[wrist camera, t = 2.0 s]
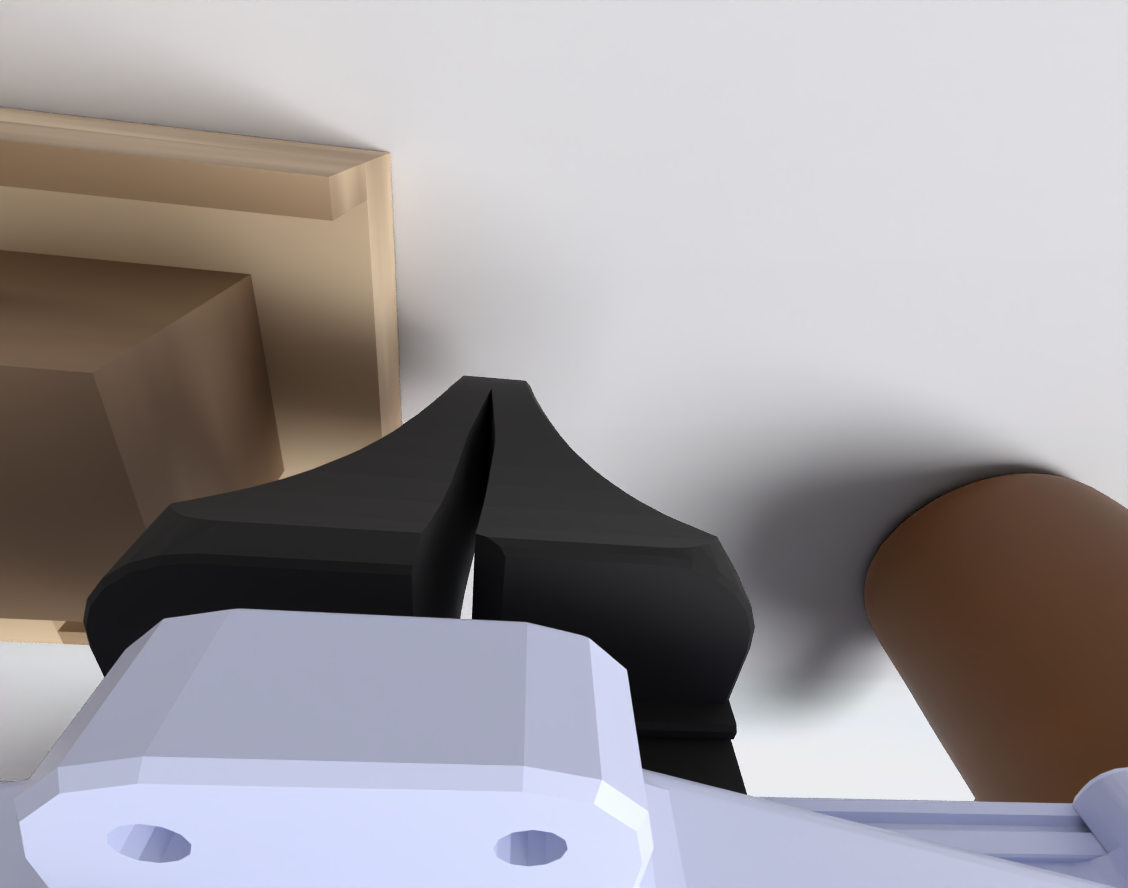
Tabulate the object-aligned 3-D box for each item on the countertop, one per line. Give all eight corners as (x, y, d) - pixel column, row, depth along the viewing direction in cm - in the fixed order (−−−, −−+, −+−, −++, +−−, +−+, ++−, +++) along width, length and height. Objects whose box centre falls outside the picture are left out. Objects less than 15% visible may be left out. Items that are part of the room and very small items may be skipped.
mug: (985, 714, 23) (1229, 1053, 15) (796, 718, 22) (941, 1067, 14) (1153, 460, 16) (1738, 809, 8) (896, 461, 16) (1249, 824, 8)
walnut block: (284, 471, 13) (179, 626, 9) (75, 456, 13) (-126, 613, 9) (250, 274, 11) (91, 372, 7) (-7, 248, 10) (-325, 339, 7)
